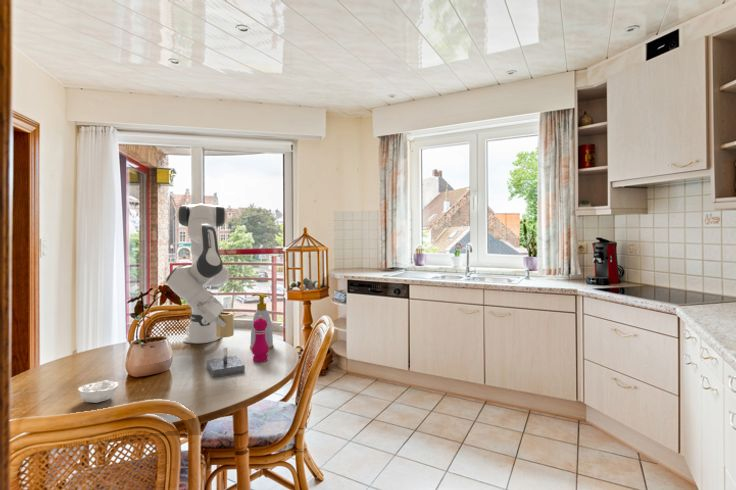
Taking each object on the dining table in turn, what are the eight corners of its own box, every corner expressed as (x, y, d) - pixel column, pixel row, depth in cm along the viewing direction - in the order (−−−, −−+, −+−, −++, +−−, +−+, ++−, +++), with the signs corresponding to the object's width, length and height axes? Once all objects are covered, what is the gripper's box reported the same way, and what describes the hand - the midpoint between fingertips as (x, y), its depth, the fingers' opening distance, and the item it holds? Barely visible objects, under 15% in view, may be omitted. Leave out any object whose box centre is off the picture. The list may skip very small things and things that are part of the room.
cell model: (89, 394, 140) (89, 375, 140) (125, 394, 141) (125, 375, 140) (69, 407, 130) (69, 387, 130) (108, 407, 130) (108, 386, 130)
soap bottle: (261, 343, 204) (261, 291, 203) (278, 346, 198) (278, 293, 197) (244, 348, 195) (244, 294, 193) (261, 352, 189) (261, 297, 188)
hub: (218, 333, 167) (218, 312, 167) (234, 332, 169) (234, 311, 168) (215, 337, 161) (215, 315, 161) (232, 337, 162) (232, 314, 162)
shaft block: (206, 367, 168) (206, 345, 168) (236, 362, 175) (236, 341, 174) (213, 377, 156) (213, 355, 156) (244, 372, 163) (244, 350, 162)
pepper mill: (264, 363, 174) (264, 317, 173) (248, 362, 175) (248, 316, 174) (271, 358, 181) (271, 313, 180) (256, 356, 182) (256, 313, 182)
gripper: (201, 299, 153) (228, 323, 155) (211, 290, 173) (235, 312, 175) (189, 311, 152) (216, 335, 154) (200, 301, 172) (224, 323, 174)
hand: (226, 323), depth 165 cm, fingers closed on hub, 6 cm apart
